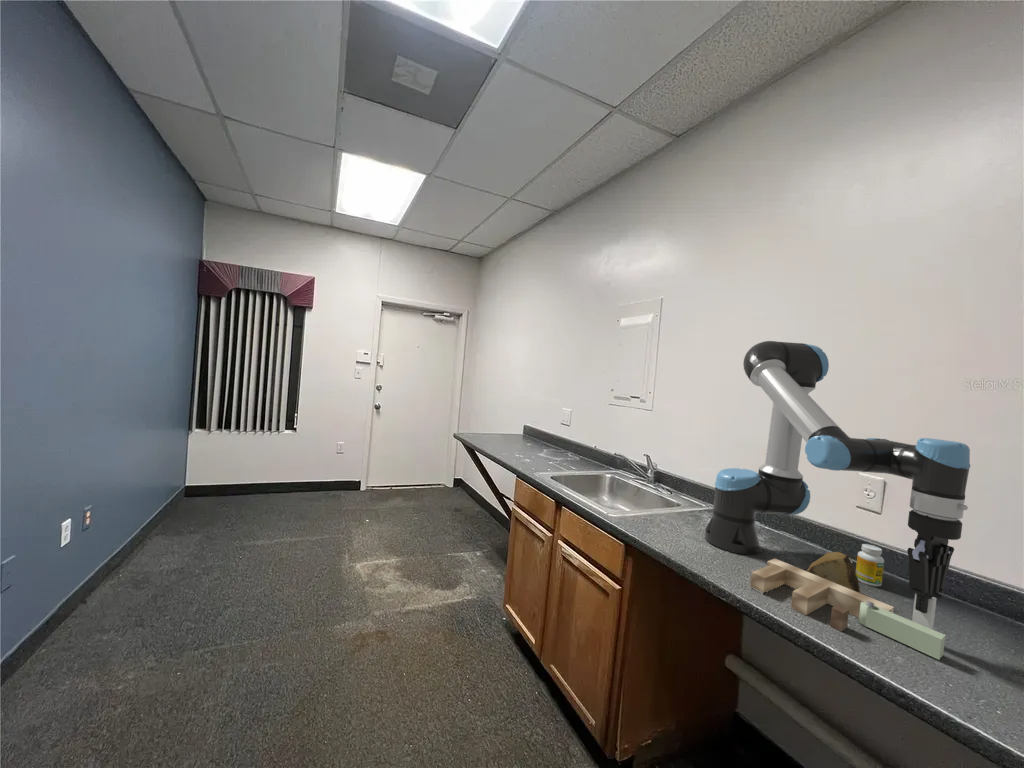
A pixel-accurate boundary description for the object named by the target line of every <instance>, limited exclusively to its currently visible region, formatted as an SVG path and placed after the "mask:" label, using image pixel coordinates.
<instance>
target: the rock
mask: <svg viewBox="0 0 1024 768" xmlns="http://www.w3.org/2000/svg"><path fill="white" fill-rule="evenodd" d="M806 571H807V572H809V573H812V574H814V575H817V576H819V577H821V578H824V579H826V580H829V581H831V582H834V583H836V584H839V585H841V586H844V587H846V588H848V589H851V590H853V591H856V592H858V593H861V590H860V584H859V580H858V578H857V576H856V574H855V573H856V570H855V568H854V565H853V563H852V561H851V560H850V556H849V555H847V554H844V553H843V552H840V551H831V552H829V551H827V552H825V554H824V555H822V556H821V557H819V558H818V559H816V560H815V561H813V562H811V563H810V565H809V567H808V568H807V569H806ZM861 594H862V593H861Z"/></svg>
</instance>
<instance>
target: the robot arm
mask: <svg viewBox="0 0 1024 768" xmlns="http://www.w3.org/2000/svg"><path fill="white" fill-rule="evenodd" d="M742 363H743V370H744V373H745V375H746V377H747V378H748V380H749V381H750V382H751V383H752V384H753V385H754V386H757V387H760V388H761V389H762V390H763V391H764V393H765V394H766V395H767V397H769V399H770V400H771V401H772V409H771V418H770V425H769V432H768V441H767V449H766V454H765V455H766V456H765V462H764V464H763V465H761V466H759V467H758V472H757V471H754V470H751V469H746V468H738V467H735V468H724V469H722V470H720V471H719V472H717V475H716V479H715V483H714V487H715V488H714V490H715V491H714V495H713V496H714V498H713V508H712V515H711V517H710V519H709V521H708V524H707V526H706V528H705V530H704V536H705V537H704V540H705V541H706V542H707V543H709V542H710V543H709V544H711V545H712V544H713V545H712V546H714V545H715V546H714V547H716V546H717V548H719V547H720V548H719V549H721V548H722V550H724V549H725V550H724V551H727V550H728V551H727V552H731V553H736V554H740V555H741V554H742V555H754V554H757V553H759V551H760V541H759V537H758V533H757V529H756V516H757V515H756V514H768V515H769V514H770V515H779V516H789V515H790V516H793V515H795V516H796V515H799V514H801V513H803V512H804V511H806V509H807V508H808V507H809V504H810V503H811V502H810V500H811V491H810V489H809V486H808V484H807V483H806V482H805V481H804V475H803V474H802V473H801V472H800V471H799V464H800V454H801V448H802V441H803V440H804V441H805V443H806V444H805V447H804V453H805V454H806V459H807V461H808V463H810V464H811V465H812V466H813V467H816V468H818V469H823V470H829V471H839V472H840V471H848V472H863V473H875V474H888V475H893V476H898V477H903V478H906V479H908V480H912V481H911V482H912V484H911V490H910V491H911V492H910V498H909V504H908V505H909V508H910V509H911V510H909V511H908V520H907V526H908V528H909V529H910V530H913V531H915V532H917V536H916V538H915V540H914V543H913V547H914V548H913V547H908V548H907V550H906V552H907V556H908V565H909V567H908V568H909V569H908V571H909V572H908V573H909V575H908V576H909V577H908V578H909V579H908V580H909V588H908V590H909V592H912V593H914V599H913V601H914V602H913V609H912V610H913V611H912V619H911V621H913V622H915V623H918V624H920V625H923V626H925V627H927V628H930V629H932V630H934V625H935V624H934V623H935V618H936V617H935V615H936V607H937V600H938V599H939V600H943V599H944V595H942V593H944V592H945V591H944V589H945V585H946V580H947V575H948V571H949V567H950V563H951V559H952V556H953V554H954V551H955V548H954V547H953V546H950V545H949V541H950V540H951V541H956V540H957V541H958V540H960V539H961V537H962V531H963V530H962V529H963V522H962V521H961V519H963V518H964V511H966V510H968V509H969V507H968V505H965V502H966V489H967V485H968V484H967V483H968V478H969V472H970V468H971V464H970V459H971V458H970V456H971V449H970V446H968V445H967V444H966V443H963V442H959V441H955V440H953V441H952V440H946V439H945V440H944V439H939V438H929V437H921V438H919V439H918V440H917V441H916V444H909V443H903V442H900V441H899V442H898V441H894V440H889V439H887V438H876V437H875V438H874V437H868V438H857V437H850V436H849V435H847V433H846V432H845V431H843V429H841V427H840V425H838V424H837V423H836V422H835V421H834V420H833V419H832V418H831V417H830V416H829V414H827V413H826V411H825V410H824V409H823V408H822V407H821V406H820V405H819V404H818V403H817V402H816V401H815V400H814V399H813V398H812V397H811V395H809V394H810V393H811V392H813V391H814V390H816V385H817V383H819V382H821V381H822V380H824V377H826V376H827V374H828V373H829V366H830V364H829V359H828V356H827V354H826V353H825V352H824V351H823V349H822V348H820V346H817V345H813V344H808V343H804V342H803V343H802V342H800V343H799V342H788V341H787V342H785V341H775V340H765V341H762V342H759V343H757V344H754V345H753V346H751V347H750V348H749V350H748V351H747V352H746V354H745V356H744V357H743V362H742Z"/></svg>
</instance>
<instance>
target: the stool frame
mask: <svg viewBox="0 0 1024 768" xmlns="http://www.w3.org/2000/svg"><path fill="white" fill-rule="evenodd" d="M783 584H784V585H785V584H786V586H787V585H788V586H787V587H789V586H790V588H792V587H793V588H792V589H794V590H792V595H791V604H790V609H792V610H794V609H795V610H794V611H795V612H798V613H800V614H802V615H804V616H808V615H810V614H811V613H813V612H815V611H817V610H818V609H820V608H822V607H824V606H825V605H826V604H827V605H830V606H832V607H831V612H830V613H831V614H830V620H829V621H830V623H829V627H831V628H833V629H835V630H837V631H839V632H844V630H846V629H847V628H848V624H849V623H848V622H849V614H850V615H852V616H853V617H856V618H858V619H859V614H860V605H861V602H867V601H870V602H873V603H874V605H875V606H877V607H880V608H882V609H884V610H887V611H889V612H892V613H894V612H895V607H894V606H892V605H889V604H888V603H885V602H883V601H879V600H877V599H875V598H873V597H870V596H868V595H865V594H862V593H858V592H856V591H853V590H851V589H848V588H846V587H844V586H841V585H839V584H836V583H834V582H831V581H829V580H826V579H824V578H821V577H819V576H817V575H814V574H812V573H809V572H807V570H804V569H802V568H799V567H797V566H794V565H792V564H790V563H787V562H784V561H783V560H779V559H777V558H775V557H774V558H772V559H769V560H767V562H766V566H764V567H762V568H759V569H756V570H754V571H751V577H750V585H749V586H751V587H753V588H755V589H757V590H759V591H761V592H763V593H764V592H767V591H769V590H771V589H774V588H776V589H777V587H778V588H780V587H782V586H784V585H783ZM781 585H782V586H781ZM779 586H780V587H779ZM774 590H775V589H774ZM771 591H772V590H771ZM769 592H770V591H769ZM767 593H768V592H767Z"/></svg>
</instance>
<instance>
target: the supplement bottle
mask: <svg viewBox="0 0 1024 768" xmlns="http://www.w3.org/2000/svg"><path fill="white" fill-rule="evenodd" d="M860 549H861V550H860V551H858V552H857V557H856V566H855V574H856V576H857V578H858V582H860V583H863V584H865V585H868V586H871V587H881V586H882V584H883V576H884V575H883V574H884V567H885V559H884V558H883V557H882V556H881V555H882V554H883V549H882V548H880V547H878V546H876V545H874V544H873V545H872V544H868V543H862V544H861V548H860Z"/></svg>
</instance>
